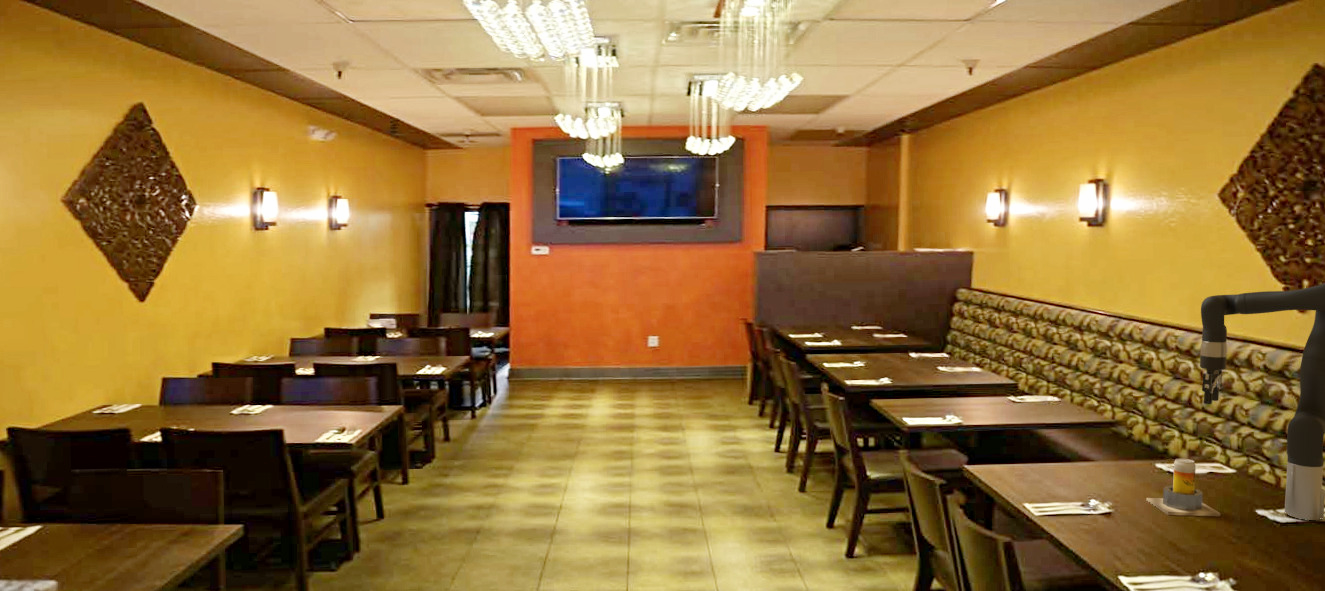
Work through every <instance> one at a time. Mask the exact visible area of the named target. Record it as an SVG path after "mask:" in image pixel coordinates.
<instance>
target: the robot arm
mask: <svg viewBox="0 0 1325 591" xmlns="http://www.w3.org/2000/svg"><path fill="white" fill-rule="evenodd" d="M1282 311H1283V312H1284V311H1286V312H1287V311H1315V315H1314V322H1313V326H1312V328H1311V331H1310V333H1309V336H1308V338H1307V340H1306V343H1305V346H1304V348H1303V352H1302V357H1301V362H1300V368H1299V370H1300V371H1299V385H1300V386H1299V388H1300V394H1299V401H1298V404H1297V407H1296V411H1295V413H1294V415H1293V417H1292V418H1291V419H1290V421H1289V423H1288V426H1287V432H1286V433H1287V434H1286V436H1287V438H1286V441H1287V442H1286V455H1287V456H1286V457H1287V460H1286V462H1287V463H1286V479H1285V480H1286V481H1285V482H1286V483H1285V499H1284V500H1285V501H1284V513H1285V512H1286V513H1287V514H1288V515H1290V516H1293V517H1296V518H1300V519H1299V520H1301V519H1308V520H1307V521H1309V520H1316V521H1319V520H1318V519H1320V518H1323V519H1324V515H1325V513H1324V511H1325V489H1323V472H1324V453H1323V452H1324V436H1325V282H1323V283H1321V284H1318V285H1315V286H1311V287H1310V286H1309V287H1305V288H1301V289H1293V290H1284V291H1283V290H1274V291H1273V290H1272V291H1271V290H1270V291H1267V290H1266V291H1255V292H1254V291H1253V292H1245V293H1239V294H1217V295H1216V294H1215V295H1211V296H1207V297H1205V298H1204V300H1202V302H1201V306H1200V317H1201V324H1202V334H1201V344H1200V355H1199V357H1200V358H1199V368H1201V369H1203V370H1206V373H1203V374H1202V386H1201V387H1202V388H1201V390H1202V392H1203V393H1204V394H1203V403H1204V404H1206V405H1212V403H1213V401H1215V402H1218V401H1219V399H1220V396H1219V395H1220V390H1221V388H1222V380H1223V379H1222V374H1223V371H1224V370H1226V369H1227V356H1228V354H1227V353H1228V347H1227V340H1228V339H1227V337H1228V336H1227V334H1228V329H1227V326H1226V325H1225V316H1230V315H1253V314H1254V315H1255V314H1256V315H1257V314H1267V313H1268V314H1269V313H1276V312H1282ZM1296 518H1295V519H1296ZM1320 520H1321V519H1320Z"/></svg>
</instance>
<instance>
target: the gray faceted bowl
mask: <svg viewBox="0 0 1325 591" xmlns="http://www.w3.org/2000/svg"><path fill="white" fill-rule="evenodd" d="M1203 493H1204V492H1203V491H1202V490H1200V489H1197V488H1195V490H1194V494H1184V493H1178V492H1174V491H1173V485H1167V486H1164V487H1163V495H1162V498H1163V504H1165V505H1166V506H1168V507H1171V508H1175V509H1180V510H1190V511H1196V510H1201V509H1202V503H1203Z"/></svg>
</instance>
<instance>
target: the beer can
mask: <svg viewBox="0 0 1325 591" xmlns="http://www.w3.org/2000/svg"><path fill="white" fill-rule="evenodd" d="M1196 468H1197V466H1196V463H1195V460H1193V459H1189V458H1182V457H1181V458H1175V460H1174V462H1173V477H1172V478H1173V479H1172V480H1173V482H1172V486H1173V491H1174V492H1178V493H1184V494H1194V490H1195V489H1196V488H1195V487H1196V486H1195V485H1196Z"/></svg>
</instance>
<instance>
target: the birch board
mask: <svg viewBox="0 0 1325 591" xmlns="http://www.w3.org/2000/svg"><path fill="white" fill-rule="evenodd" d="M1147 501H1148V502H1147ZM1146 502H1147V503H1149V502H1150V503H1149V504H1151V505H1152V504H1153V505H1152V506H1154V507H1155V506H1156V508H1157V509H1158V510H1160V511H1161V512H1163V513H1164V514H1165V515H1167V516H1189V517H1190V516H1193V517H1195V516H1196V517H1197V516H1199V517H1221V512H1219V511H1217V510H1216V509H1214V508H1212V507H1210V506H1209V505H1207V504H1206V503H1204V502H1202V509H1201V510H1196V511H1190V510H1180V509H1175V508H1171V507H1168V506H1166V505H1165V504H1163V497H1162V498H1161V497H1146Z"/></svg>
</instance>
